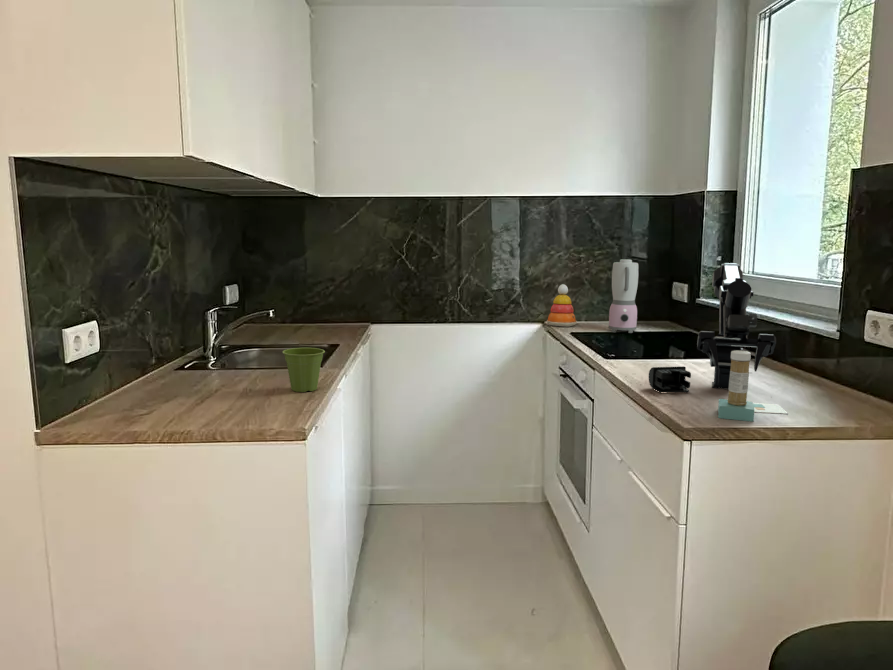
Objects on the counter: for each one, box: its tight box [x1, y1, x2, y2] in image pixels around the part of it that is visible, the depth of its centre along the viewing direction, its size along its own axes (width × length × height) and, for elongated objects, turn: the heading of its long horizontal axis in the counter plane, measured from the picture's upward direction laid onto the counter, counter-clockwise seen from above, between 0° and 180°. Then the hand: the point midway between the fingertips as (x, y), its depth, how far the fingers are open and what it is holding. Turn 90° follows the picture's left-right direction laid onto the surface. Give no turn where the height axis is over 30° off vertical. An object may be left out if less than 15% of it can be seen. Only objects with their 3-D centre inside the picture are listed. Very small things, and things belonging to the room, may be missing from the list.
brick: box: [717, 398, 755, 422], centre depth 171 cm, size 8×8×3 cm
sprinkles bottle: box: [727, 350, 752, 406], centre depth 170 cm, size 5×5×14 cm
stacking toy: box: [546, 283, 578, 328], centre depth 319 cm, size 14×14×20 cm
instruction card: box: [753, 402, 789, 415], centre depth 178 cm, size 9×12×1 cm
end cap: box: [648, 366, 692, 393], centre depth 197 cm, size 10×7×7 cm
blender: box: [608, 258, 639, 334], centre depth 302 cm, size 16×12×32 cm
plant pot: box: [282, 347, 326, 393], centre depth 193 cm, size 12×12×11 cm
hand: (736, 369), depth 174 cm, fingers open, 9 cm apart
